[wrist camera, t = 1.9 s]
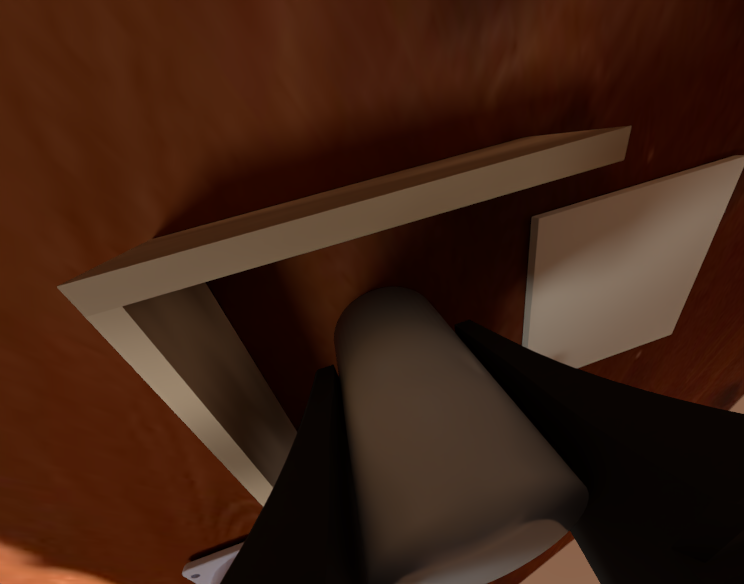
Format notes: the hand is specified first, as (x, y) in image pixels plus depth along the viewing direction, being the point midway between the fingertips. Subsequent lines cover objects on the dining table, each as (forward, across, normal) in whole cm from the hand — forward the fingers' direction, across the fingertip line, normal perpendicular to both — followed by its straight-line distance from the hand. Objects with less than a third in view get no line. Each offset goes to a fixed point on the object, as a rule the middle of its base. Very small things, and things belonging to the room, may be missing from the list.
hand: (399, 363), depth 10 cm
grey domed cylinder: (+2, 0, +1) cm, 2 cm away
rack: (+2, 0, 0) cm, 2 cm away
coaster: (+2, -12, +2) cm, 12 cm away
